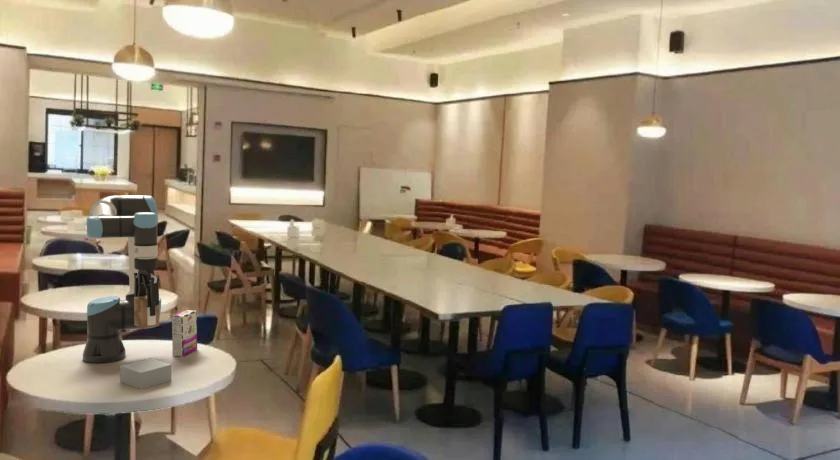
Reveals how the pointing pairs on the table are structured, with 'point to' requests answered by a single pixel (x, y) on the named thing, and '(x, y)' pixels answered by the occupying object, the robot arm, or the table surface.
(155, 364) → the slate base block
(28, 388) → the table surface
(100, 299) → the robot arm
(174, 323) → the candy bar box
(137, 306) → the walnut block
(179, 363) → the table surface
